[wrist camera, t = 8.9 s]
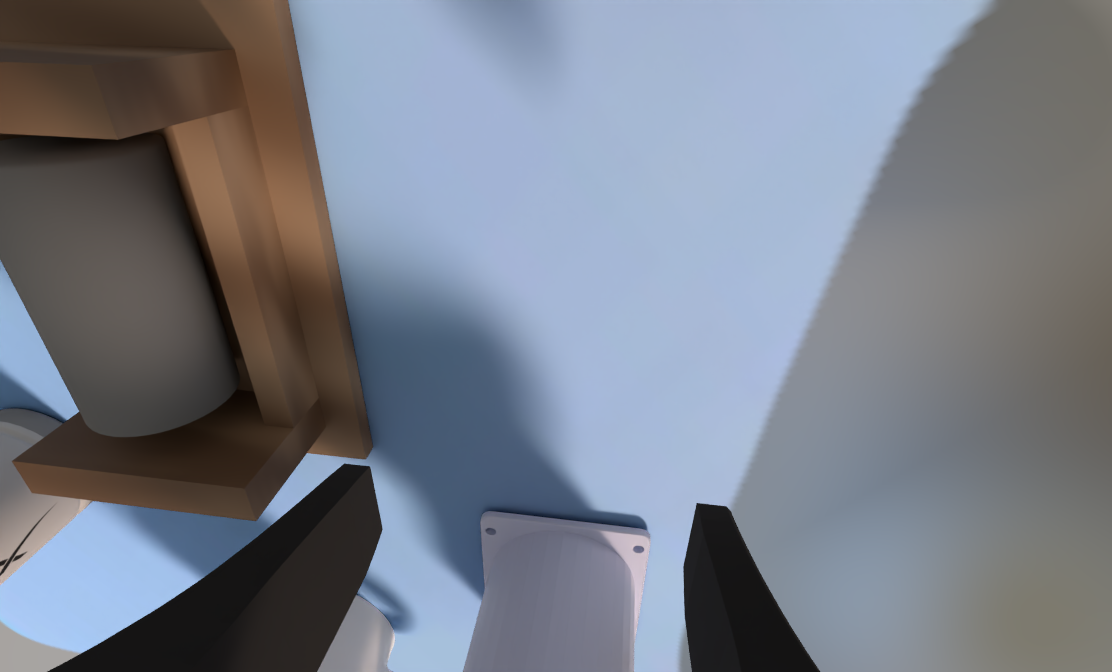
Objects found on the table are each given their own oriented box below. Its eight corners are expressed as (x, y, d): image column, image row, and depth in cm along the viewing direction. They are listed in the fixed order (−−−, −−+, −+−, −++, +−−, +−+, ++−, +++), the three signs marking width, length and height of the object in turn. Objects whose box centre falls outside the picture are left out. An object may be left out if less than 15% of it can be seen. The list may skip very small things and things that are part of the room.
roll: (267, 366, 23) (171, 447, 19) (162, 350, 24) (47, 424, 20) (201, 136, 18) (53, 175, 14) (73, 126, 19) (-103, 160, 15)
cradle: (373, 447, 26) (306, 557, 21) (133, 421, 27) (15, 519, 22) (285, -14, 17) (127, -21, 12) (-72, -22, 18) (-357, -32, 13)
